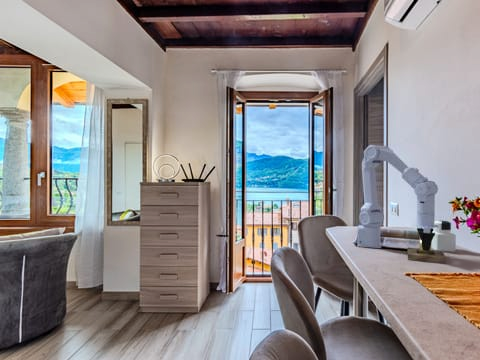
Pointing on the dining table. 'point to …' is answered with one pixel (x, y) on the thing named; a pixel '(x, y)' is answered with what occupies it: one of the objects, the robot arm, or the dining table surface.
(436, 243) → the medicine bottle
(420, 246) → the brass peg
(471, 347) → the dining table surface
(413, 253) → the square tan frame
